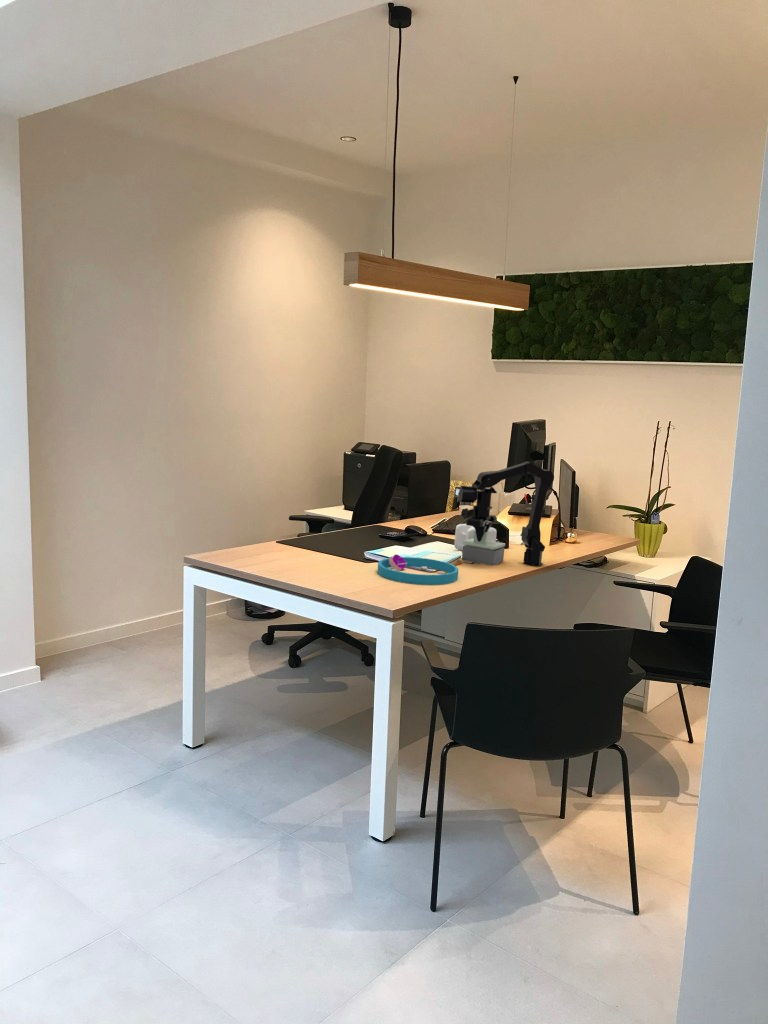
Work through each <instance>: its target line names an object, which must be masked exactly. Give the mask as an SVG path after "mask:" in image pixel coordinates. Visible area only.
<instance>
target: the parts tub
mask: <svg viewBox="0 0 768 1024" xmlns="http://www.w3.org/2000/svg"><path fill="white" fill-rule="evenodd" d="M461 555H462V556H461V561H464V562H465V561H466V562H471V563H475V564H476V563H477V564H482V565H486V566H496V565H499V564H501V563H503V562H504V556H505V546H503V547H501V548H498V549H495V550H489V549H483V548H477V547H471V546H466V545H464V546H463V550H462V554H461Z"/></svg>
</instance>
